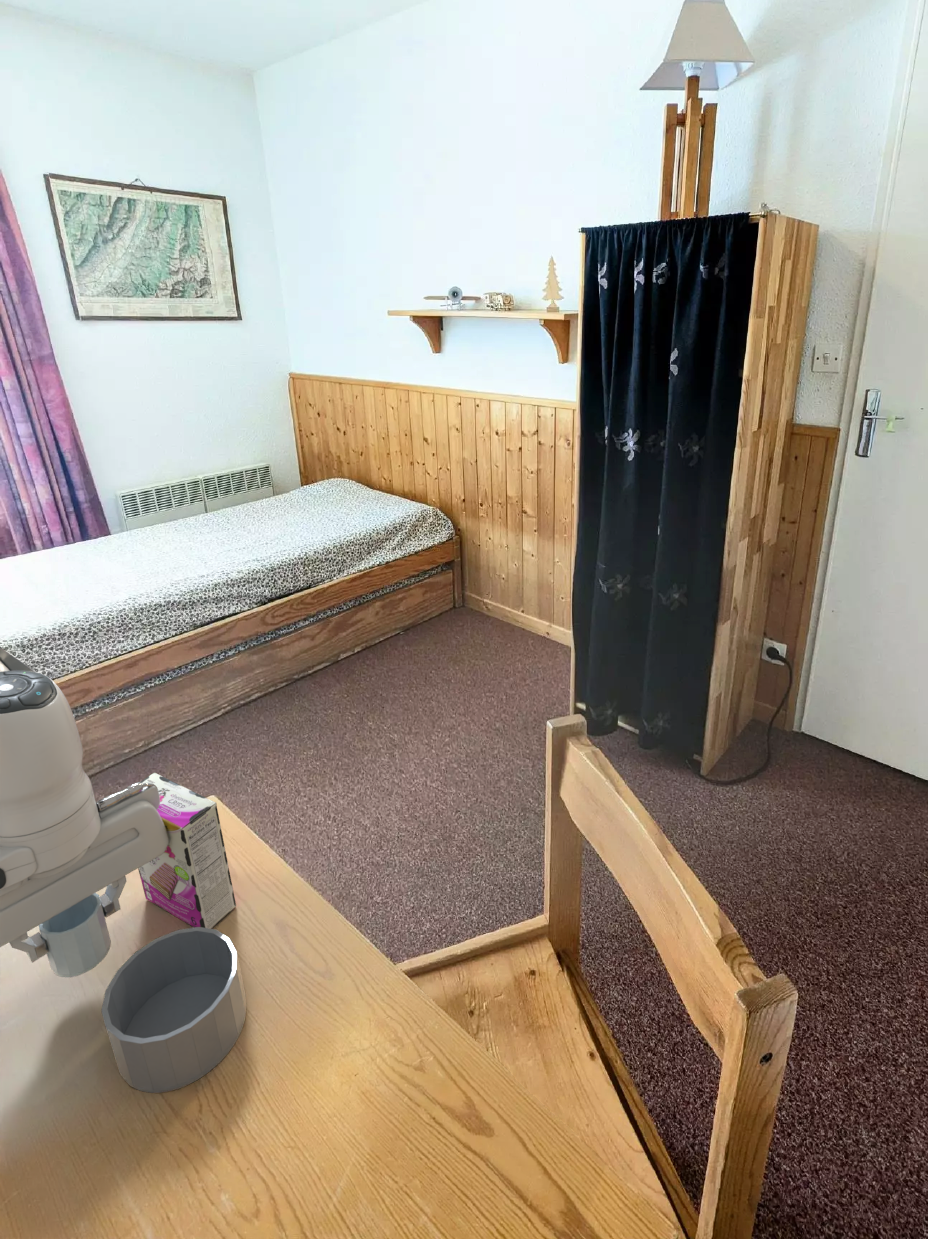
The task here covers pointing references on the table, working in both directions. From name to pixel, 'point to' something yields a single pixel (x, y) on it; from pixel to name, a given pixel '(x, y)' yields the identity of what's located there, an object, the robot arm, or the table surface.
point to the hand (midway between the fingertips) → (75, 932)
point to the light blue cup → (77, 938)
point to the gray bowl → (175, 1009)
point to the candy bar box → (189, 859)
